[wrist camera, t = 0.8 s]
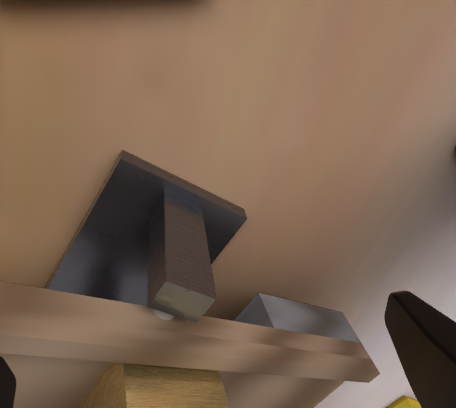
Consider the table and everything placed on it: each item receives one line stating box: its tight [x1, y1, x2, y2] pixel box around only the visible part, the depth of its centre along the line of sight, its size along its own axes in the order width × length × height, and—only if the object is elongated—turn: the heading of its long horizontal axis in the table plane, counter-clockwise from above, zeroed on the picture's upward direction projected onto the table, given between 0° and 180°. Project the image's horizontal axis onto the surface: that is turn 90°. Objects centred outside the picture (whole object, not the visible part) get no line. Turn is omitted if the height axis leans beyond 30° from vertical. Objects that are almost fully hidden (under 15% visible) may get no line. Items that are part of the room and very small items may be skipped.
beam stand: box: [45, 150, 247, 323], centre depth 22 cm, size 8×14×8 cm, turn 146°
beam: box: [0, 281, 380, 408], centre depth 19 cm, size 30×9×5 cm, turn 56°
